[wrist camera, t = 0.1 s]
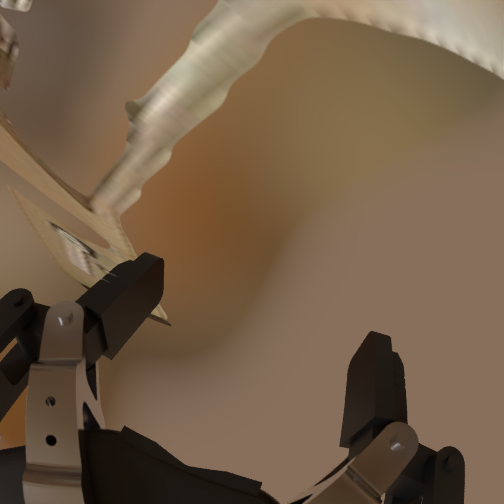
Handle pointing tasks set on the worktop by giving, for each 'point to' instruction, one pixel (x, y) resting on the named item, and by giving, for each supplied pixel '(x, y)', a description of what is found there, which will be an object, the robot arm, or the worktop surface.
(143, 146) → the worktop surface
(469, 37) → the worktop surface
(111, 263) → the worktop surface
